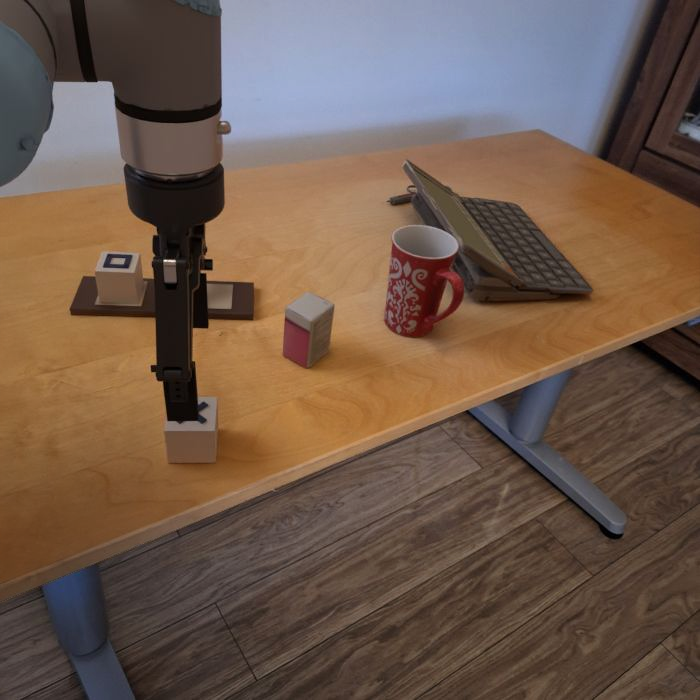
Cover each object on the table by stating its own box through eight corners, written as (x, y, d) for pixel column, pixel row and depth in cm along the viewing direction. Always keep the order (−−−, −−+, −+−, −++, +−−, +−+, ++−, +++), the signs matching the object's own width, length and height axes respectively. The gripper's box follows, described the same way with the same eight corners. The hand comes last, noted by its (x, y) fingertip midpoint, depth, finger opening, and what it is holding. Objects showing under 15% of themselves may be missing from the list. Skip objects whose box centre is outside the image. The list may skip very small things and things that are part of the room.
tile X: (167, 463, 65) (163, 429, 62) (173, 428, 69) (169, 394, 66) (216, 463, 66) (214, 429, 63) (218, 428, 70) (217, 395, 67)
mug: (365, 312, 90) (378, 230, 82) (414, 298, 95) (431, 219, 86) (415, 363, 83) (436, 279, 74) (466, 346, 87) (491, 264, 78)
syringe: (367, 198, 120) (368, 190, 119) (437, 184, 129) (438, 176, 128) (391, 216, 115) (392, 207, 114) (461, 200, 124) (463, 192, 123)
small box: (304, 337, 84) (308, 289, 79) (330, 351, 83) (335, 303, 78) (280, 355, 81) (283, 306, 76) (307, 370, 79) (311, 321, 74)
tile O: (106, 281, 87) (101, 249, 84) (143, 283, 88) (140, 251, 85) (99, 302, 83) (94, 269, 80) (138, 303, 84) (134, 271, 81)
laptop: (446, 306, 94) (462, 246, 87) (392, 208, 118) (401, 155, 111) (593, 302, 100) (619, 245, 93) (514, 209, 124) (529, 159, 117)
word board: (70, 314, 82) (69, 308, 82) (84, 281, 88) (82, 275, 88) (253, 320, 86) (253, 313, 85) (253, 287, 92) (253, 281, 91)
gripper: (214, 246, 39) (222, 466, 52) (230, 109, 58) (233, 296, 71) (87, 241, 37) (129, 468, 51) (146, 103, 56) (165, 294, 70)
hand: (190, 368), depth 61 cm, fingers open, 13 cm apart
